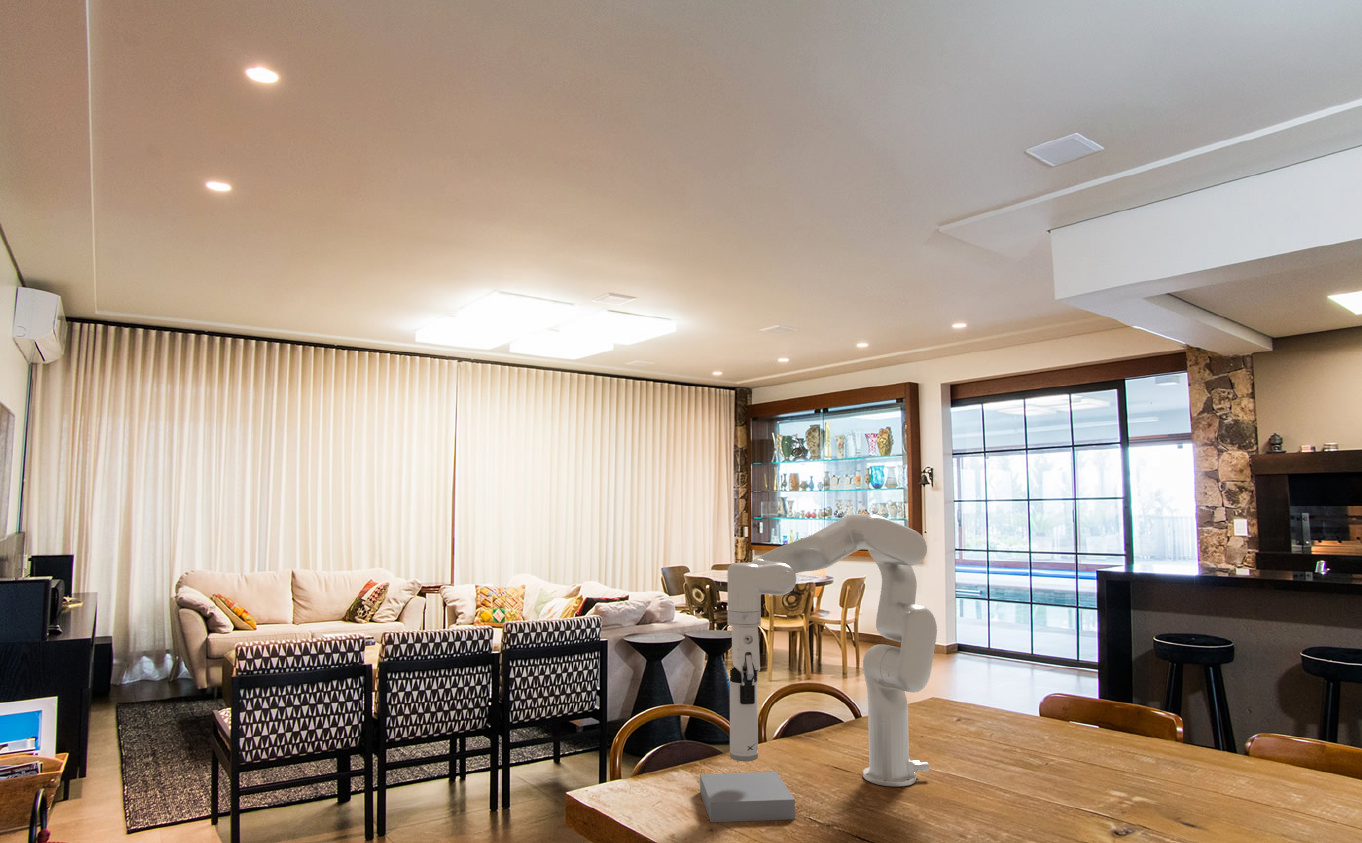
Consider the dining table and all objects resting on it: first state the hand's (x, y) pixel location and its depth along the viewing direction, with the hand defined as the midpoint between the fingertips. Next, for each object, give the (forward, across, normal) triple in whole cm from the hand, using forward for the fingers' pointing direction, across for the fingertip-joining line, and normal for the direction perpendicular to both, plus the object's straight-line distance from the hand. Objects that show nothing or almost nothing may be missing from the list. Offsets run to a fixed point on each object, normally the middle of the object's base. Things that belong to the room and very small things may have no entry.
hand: (744, 699), depth 182 cm
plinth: (+23, 0, 0) cm, 23 cm away
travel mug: (+13, 0, 0) cm, 13 cm away
